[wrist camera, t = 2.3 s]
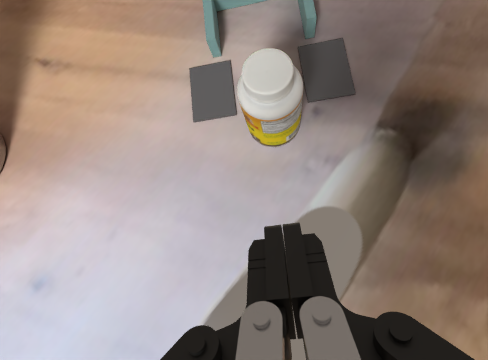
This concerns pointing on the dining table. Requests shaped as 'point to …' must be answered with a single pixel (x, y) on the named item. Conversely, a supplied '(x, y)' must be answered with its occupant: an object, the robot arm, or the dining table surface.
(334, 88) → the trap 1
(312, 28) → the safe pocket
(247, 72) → the supplement bottle
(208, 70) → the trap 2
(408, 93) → the dining table surface
